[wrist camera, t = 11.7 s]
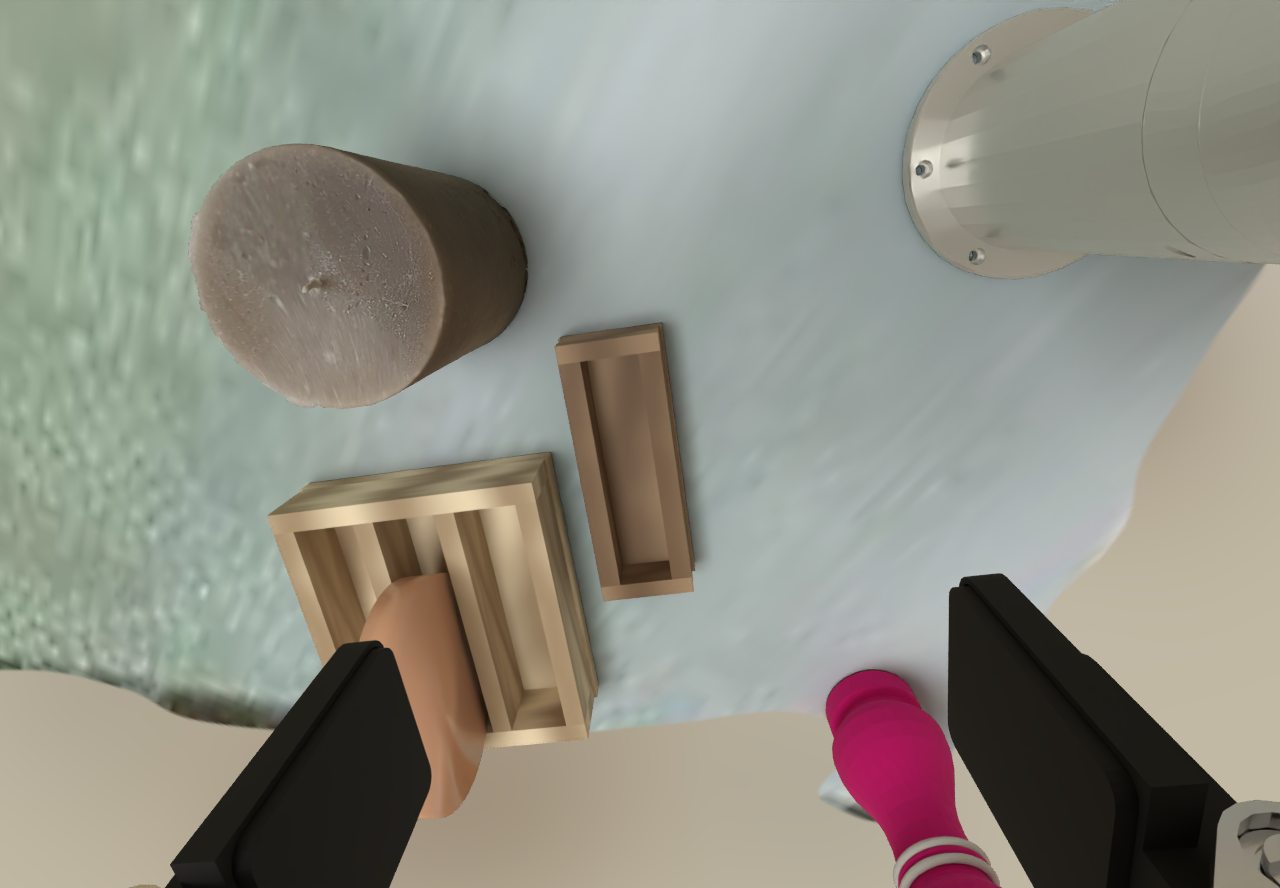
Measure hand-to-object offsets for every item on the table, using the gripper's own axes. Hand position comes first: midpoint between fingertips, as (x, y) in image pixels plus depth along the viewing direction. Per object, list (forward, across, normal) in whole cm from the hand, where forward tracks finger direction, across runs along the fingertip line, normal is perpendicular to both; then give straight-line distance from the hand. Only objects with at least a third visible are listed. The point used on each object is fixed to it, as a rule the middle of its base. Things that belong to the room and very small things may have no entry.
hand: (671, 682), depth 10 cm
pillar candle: (+28, +12, -7) cm, 32 cm away
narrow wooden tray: (+28, +3, +6) cm, 29 cm away
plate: (+27, +16, +14) cm, 34 cm away
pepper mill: (+28, -11, +27) cm, 41 cm away
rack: (+28, +16, +14) cm, 35 cm away
